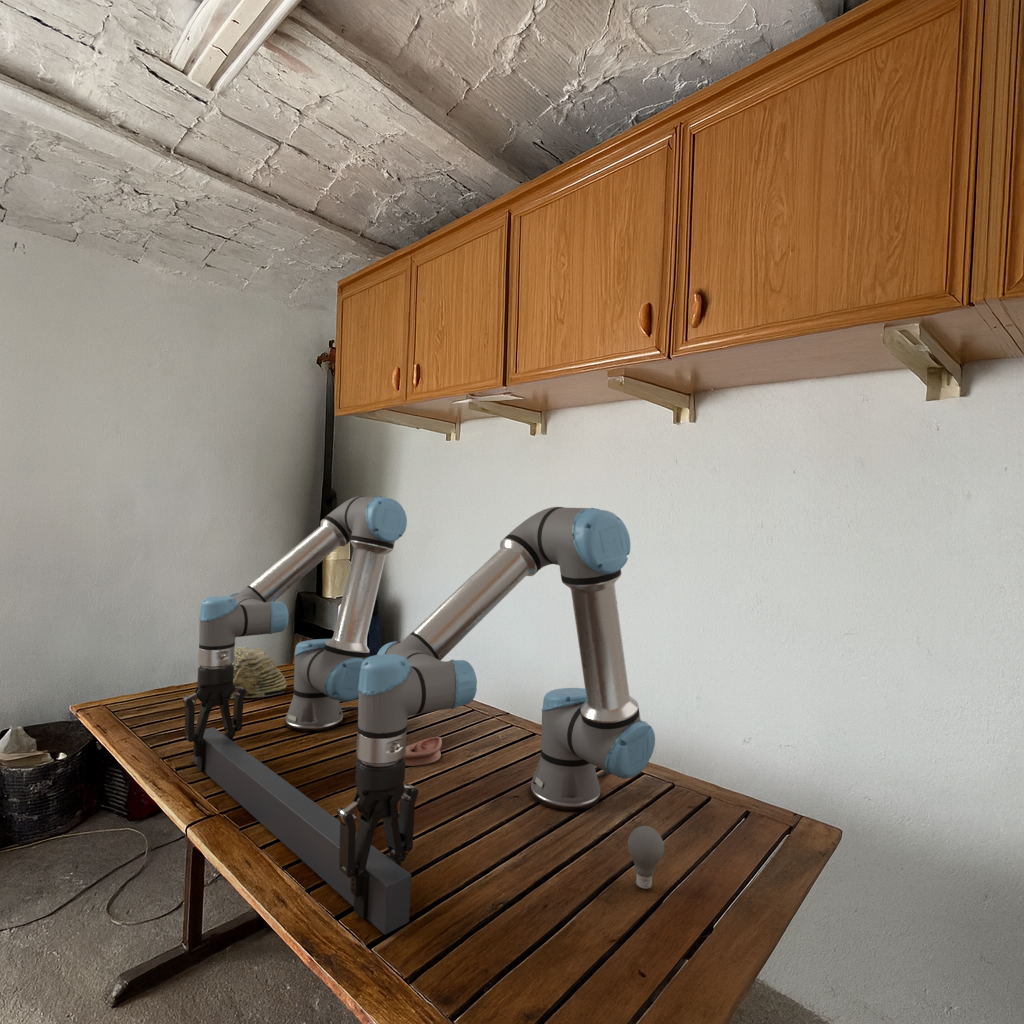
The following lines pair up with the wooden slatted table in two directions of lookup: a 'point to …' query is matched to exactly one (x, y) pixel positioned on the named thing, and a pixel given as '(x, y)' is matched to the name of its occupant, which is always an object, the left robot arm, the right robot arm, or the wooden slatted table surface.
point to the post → (305, 829)
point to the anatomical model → (423, 752)
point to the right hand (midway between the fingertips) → (375, 906)
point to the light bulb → (645, 853)
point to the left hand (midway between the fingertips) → (212, 765)
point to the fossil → (257, 673)
